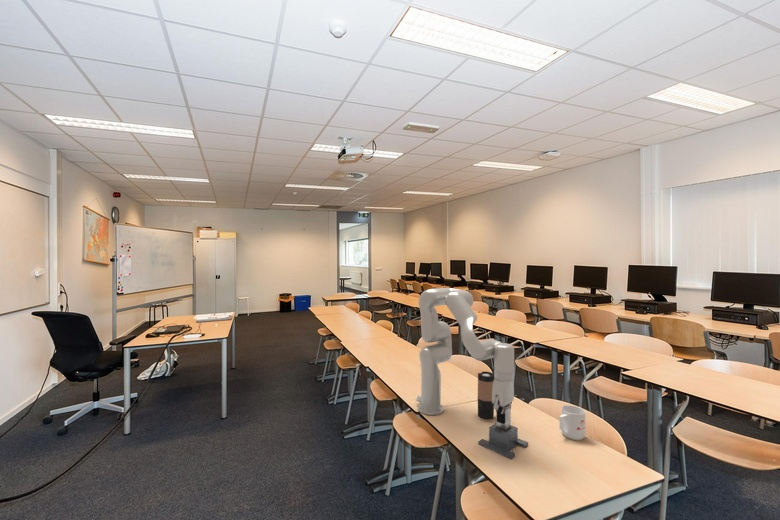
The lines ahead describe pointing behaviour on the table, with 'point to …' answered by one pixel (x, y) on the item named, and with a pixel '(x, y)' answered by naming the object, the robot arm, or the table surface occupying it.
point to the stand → (503, 441)
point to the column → (507, 424)
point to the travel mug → (485, 395)
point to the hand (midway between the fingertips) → (503, 420)
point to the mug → (572, 422)
